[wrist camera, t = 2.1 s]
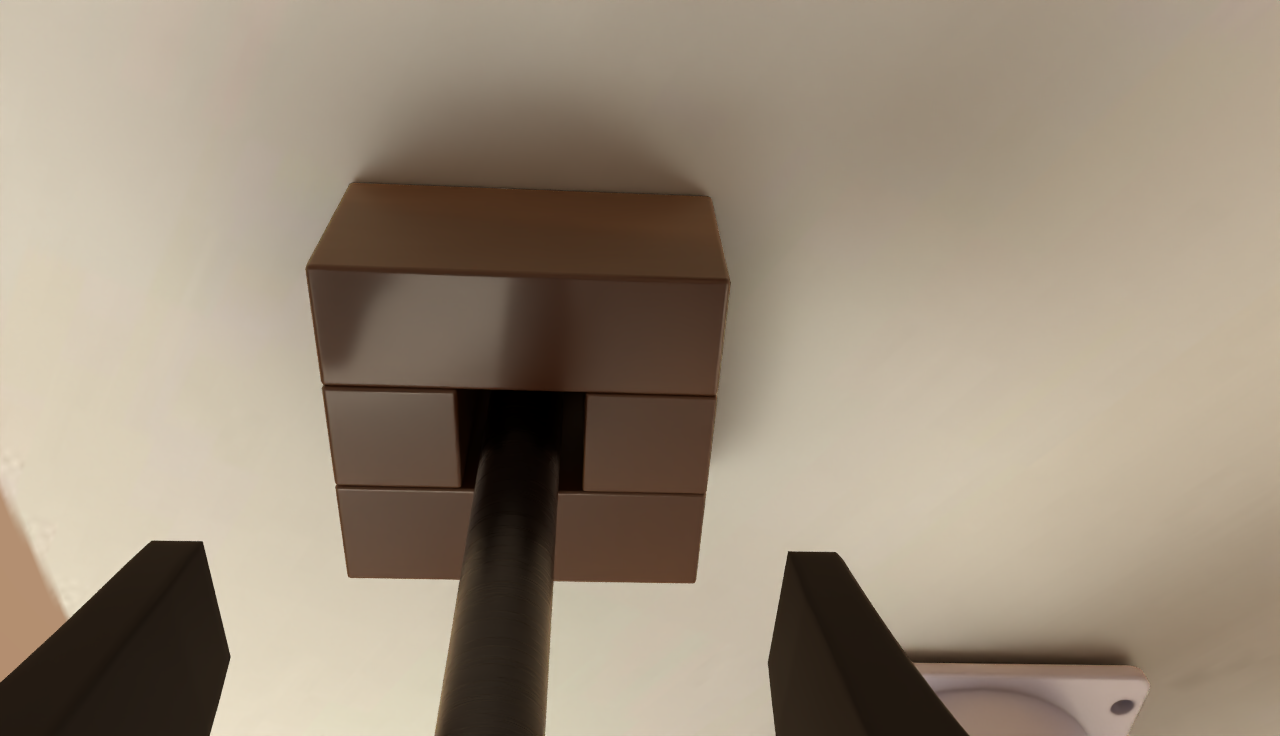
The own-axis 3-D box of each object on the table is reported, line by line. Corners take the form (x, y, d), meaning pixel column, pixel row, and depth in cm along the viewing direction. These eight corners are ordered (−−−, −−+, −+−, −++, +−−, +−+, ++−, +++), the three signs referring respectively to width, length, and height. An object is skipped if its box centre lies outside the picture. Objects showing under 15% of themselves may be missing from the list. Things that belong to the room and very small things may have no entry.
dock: (684, 474, 20) (695, 584, 17) (380, 467, 20) (347, 579, 17) (712, 194, 17) (731, 280, 14) (348, 180, 16) (303, 266, 14)
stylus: (565, 370, 18) (541, 826, 11) (500, 369, 18) (429, 825, 11) (566, 313, 18) (541, 756, 10) (498, 311, 18) (422, 755, 10)
